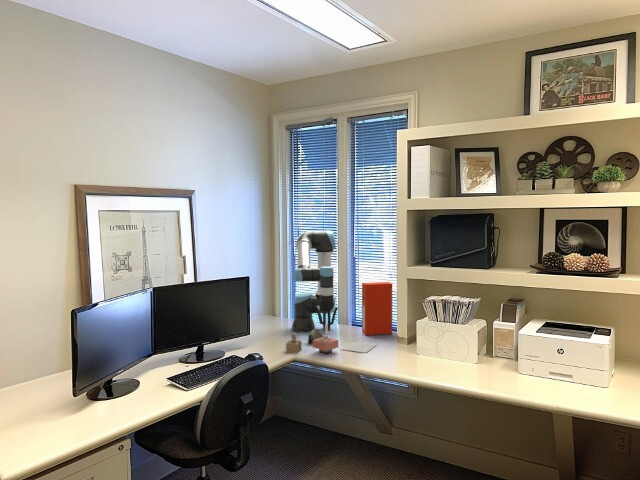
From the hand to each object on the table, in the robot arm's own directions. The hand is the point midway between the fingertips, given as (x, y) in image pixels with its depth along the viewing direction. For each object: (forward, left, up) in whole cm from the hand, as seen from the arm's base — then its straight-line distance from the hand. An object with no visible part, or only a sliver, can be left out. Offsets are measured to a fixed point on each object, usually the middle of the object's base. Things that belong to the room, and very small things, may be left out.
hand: (326, 336), depth 266 cm
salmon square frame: (+4, 0, -5) cm, 6 cm away
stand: (+4, -18, -8) cm, 20 cm away
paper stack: (-3, +21, -9) cm, 23 cm away
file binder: (-41, +25, -8) cm, 49 cm away
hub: (+4, 0, -8) cm, 9 cm away
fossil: (-13, -8, -8) cm, 18 cm away
